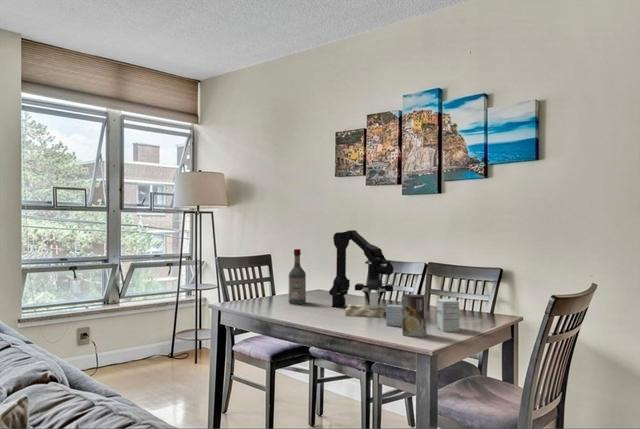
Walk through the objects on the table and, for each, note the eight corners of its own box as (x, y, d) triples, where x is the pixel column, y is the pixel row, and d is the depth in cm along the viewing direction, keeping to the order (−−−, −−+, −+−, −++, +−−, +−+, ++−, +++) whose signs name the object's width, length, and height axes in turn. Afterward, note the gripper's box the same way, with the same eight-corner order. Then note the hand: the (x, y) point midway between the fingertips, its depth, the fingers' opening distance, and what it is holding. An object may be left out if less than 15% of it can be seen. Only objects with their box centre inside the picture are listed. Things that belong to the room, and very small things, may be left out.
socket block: (345, 315, 233) (345, 308, 233) (348, 310, 246) (348, 304, 246) (382, 317, 230) (382, 310, 230) (384, 311, 243) (384, 305, 243)
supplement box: (436, 327, 208) (436, 298, 208) (453, 327, 208) (453, 298, 208) (442, 331, 200) (442, 301, 200) (459, 331, 201) (459, 301, 201)
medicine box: (405, 324, 213) (405, 305, 213) (404, 327, 209) (404, 307, 209) (388, 323, 216) (388, 304, 216) (386, 325, 212) (386, 306, 212)
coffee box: (427, 334, 197) (427, 294, 197) (424, 337, 191) (424, 297, 191) (404, 332, 200) (404, 293, 200) (401, 335, 194) (401, 295, 194)
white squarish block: (369, 309, 236) (369, 293, 236) (370, 308, 240) (370, 292, 240) (377, 310, 235) (377, 293, 235) (378, 308, 239) (378, 292, 239)
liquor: (305, 304, 263) (305, 249, 263) (288, 304, 263) (288, 249, 263) (305, 301, 272) (305, 248, 272) (289, 301, 272) (289, 248, 272)
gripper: (353, 274, 231) (353, 307, 231) (392, 275, 228) (392, 308, 228) (356, 272, 242) (356, 303, 242) (393, 273, 239) (393, 304, 238)
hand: (374, 304), depth 237 cm, fingers open, 4 cm apart
